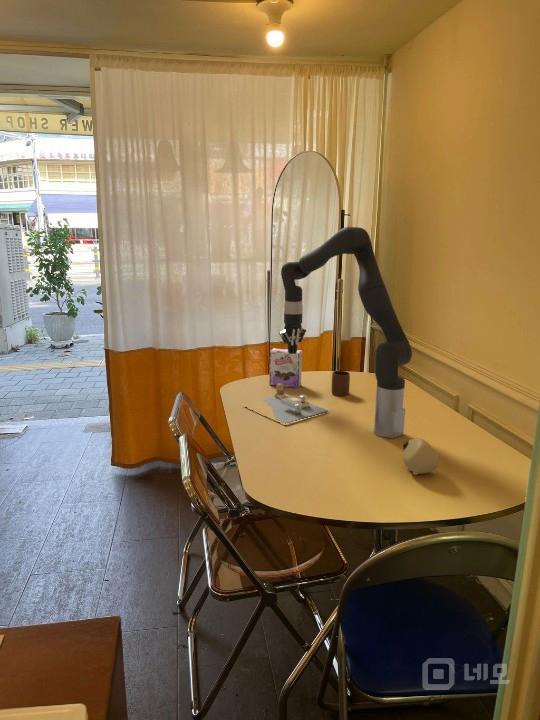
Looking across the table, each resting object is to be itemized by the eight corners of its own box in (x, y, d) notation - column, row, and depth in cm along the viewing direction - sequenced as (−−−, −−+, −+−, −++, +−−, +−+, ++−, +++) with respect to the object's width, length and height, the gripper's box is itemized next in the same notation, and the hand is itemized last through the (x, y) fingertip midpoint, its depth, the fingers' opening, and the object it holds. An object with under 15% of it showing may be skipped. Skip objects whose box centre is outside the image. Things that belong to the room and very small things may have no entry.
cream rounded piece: (427, 462, 154) (430, 429, 151) (443, 481, 142) (446, 446, 139) (395, 462, 153) (398, 430, 150) (409, 482, 141) (412, 447, 139)
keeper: (316, 410, 194) (317, 399, 193) (297, 415, 188) (297, 404, 187) (299, 403, 201) (300, 392, 200) (280, 408, 195) (280, 397, 194)
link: (311, 406, 197) (312, 393, 196) (302, 409, 194) (302, 395, 193) (282, 395, 211) (282, 382, 210) (273, 397, 208) (273, 384, 207)
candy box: (268, 385, 228) (269, 350, 223) (272, 382, 233) (272, 347, 229) (298, 388, 224) (299, 352, 219) (301, 384, 229) (302, 349, 225)
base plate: (328, 412, 194) (328, 410, 194) (285, 425, 181) (285, 423, 181) (284, 395, 214) (284, 393, 214) (242, 406, 200) (242, 404, 200)
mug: (327, 388, 224) (328, 368, 222) (343, 387, 225) (344, 367, 223) (333, 396, 213) (334, 375, 211) (351, 396, 214) (352, 375, 211)
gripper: (286, 314, 196) (286, 357, 201) (311, 311, 205) (310, 352, 209) (274, 312, 202) (274, 354, 206) (299, 309, 210) (298, 349, 215)
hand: (292, 353), depth 208 cm, fingers closed
